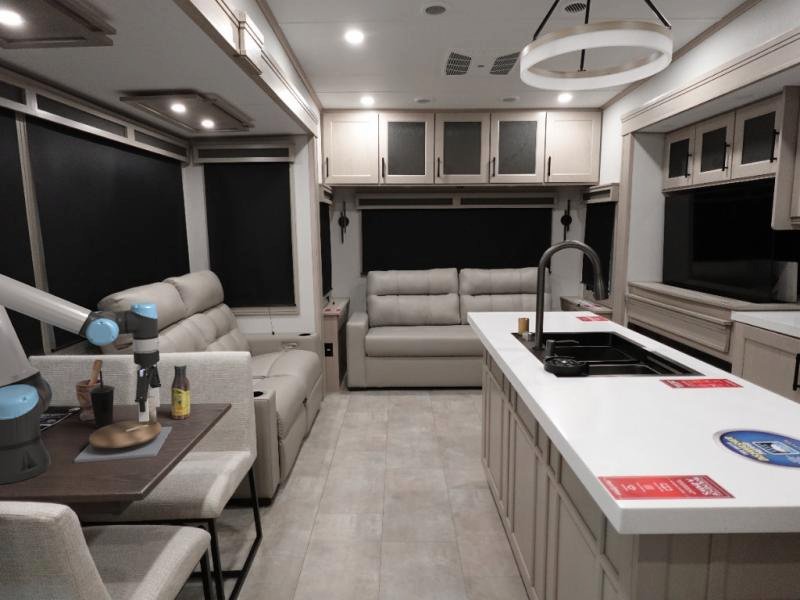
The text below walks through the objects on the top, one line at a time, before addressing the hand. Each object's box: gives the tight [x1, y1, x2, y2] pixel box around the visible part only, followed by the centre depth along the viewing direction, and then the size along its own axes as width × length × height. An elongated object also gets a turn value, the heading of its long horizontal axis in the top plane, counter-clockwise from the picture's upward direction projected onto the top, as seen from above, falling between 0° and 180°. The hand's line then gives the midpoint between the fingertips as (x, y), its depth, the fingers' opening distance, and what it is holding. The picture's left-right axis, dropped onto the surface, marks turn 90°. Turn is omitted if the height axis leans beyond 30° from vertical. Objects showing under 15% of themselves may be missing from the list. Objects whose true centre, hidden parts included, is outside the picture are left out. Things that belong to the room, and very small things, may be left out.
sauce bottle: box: [170, 362, 191, 420], centre depth 182 cm, size 6×6×20 cm
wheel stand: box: [73, 426, 173, 464], centre depth 159 cm, size 22×22×1 cm
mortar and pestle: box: [75, 359, 105, 422], centre depth 182 cm, size 12×9×20 cm
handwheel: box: [89, 395, 162, 448], centre depth 158 cm, size 20×20×12 cm
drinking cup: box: [89, 370, 116, 430], centre depth 172 cm, size 8×8×20 cm
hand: (149, 413), depth 165 cm, fingers open, 13 cm apart
